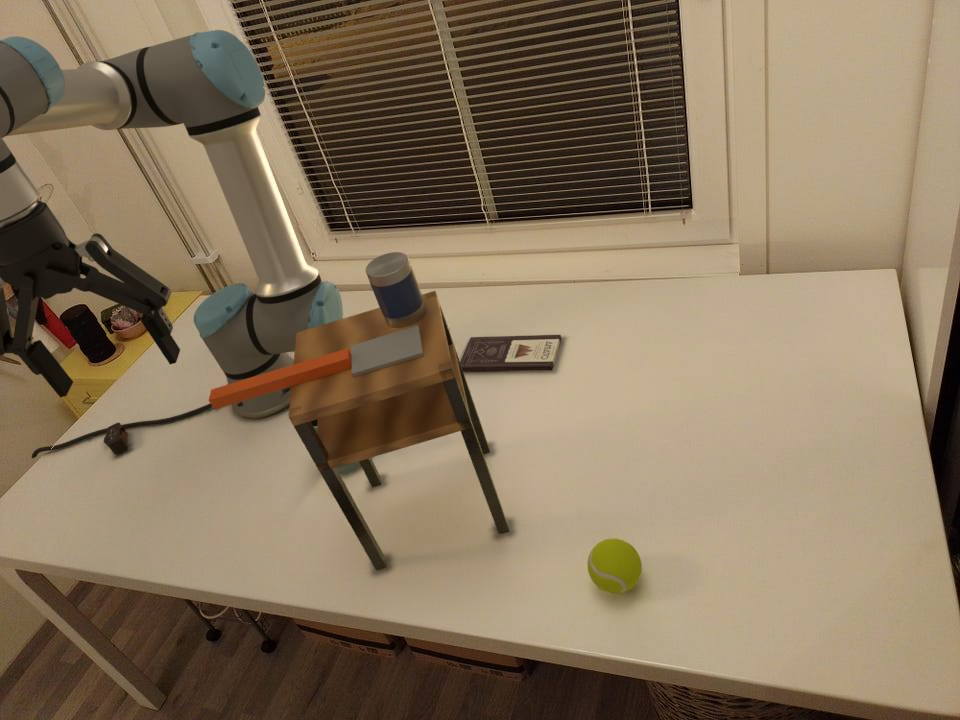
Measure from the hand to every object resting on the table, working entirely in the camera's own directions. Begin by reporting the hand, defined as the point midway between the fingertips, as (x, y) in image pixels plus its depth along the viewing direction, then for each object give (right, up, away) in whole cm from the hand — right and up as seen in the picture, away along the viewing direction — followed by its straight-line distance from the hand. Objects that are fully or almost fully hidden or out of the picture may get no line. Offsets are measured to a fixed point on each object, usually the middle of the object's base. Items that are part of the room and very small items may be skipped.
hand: (121, 373), depth 84 cm
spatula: (+23, 0, +4) cm, 23 cm away
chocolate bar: (+48, +2, +48) cm, 68 cm away
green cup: (+20, -15, +38) cm, 45 cm away
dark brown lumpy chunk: (-30, -15, +57) cm, 66 cm away
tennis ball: (+60, -27, +7) cm, 67 cm away
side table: (+36, -20, +24) cm, 48 cm away
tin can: (+33, +8, +10) cm, 35 cm away
